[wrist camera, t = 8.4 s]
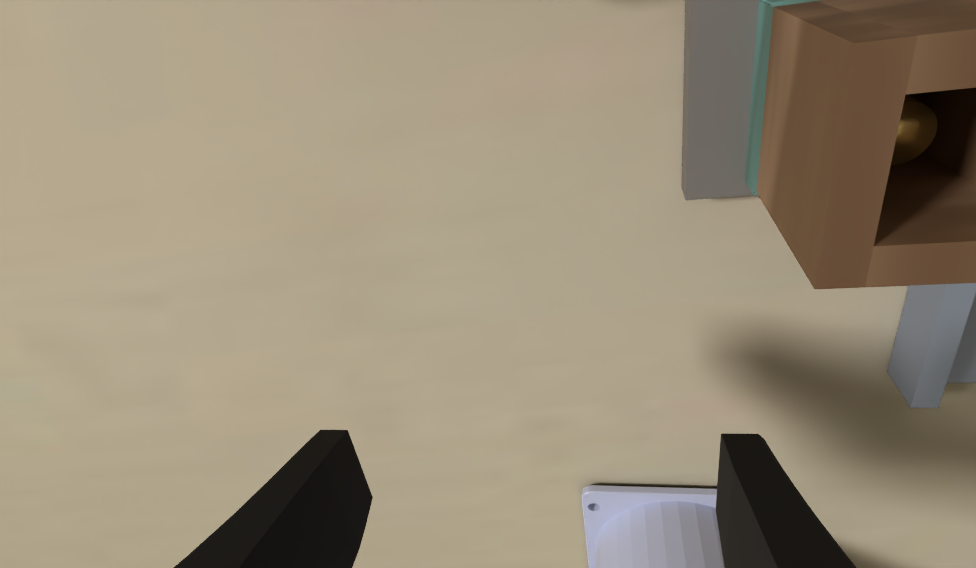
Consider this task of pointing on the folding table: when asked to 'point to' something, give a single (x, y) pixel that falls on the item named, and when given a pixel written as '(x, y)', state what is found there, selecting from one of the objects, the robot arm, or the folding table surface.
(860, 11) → the walnut sleeve
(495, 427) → the folding table surface
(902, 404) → the folding table surface
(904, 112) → the brass pin
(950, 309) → the tray
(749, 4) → the pin board
